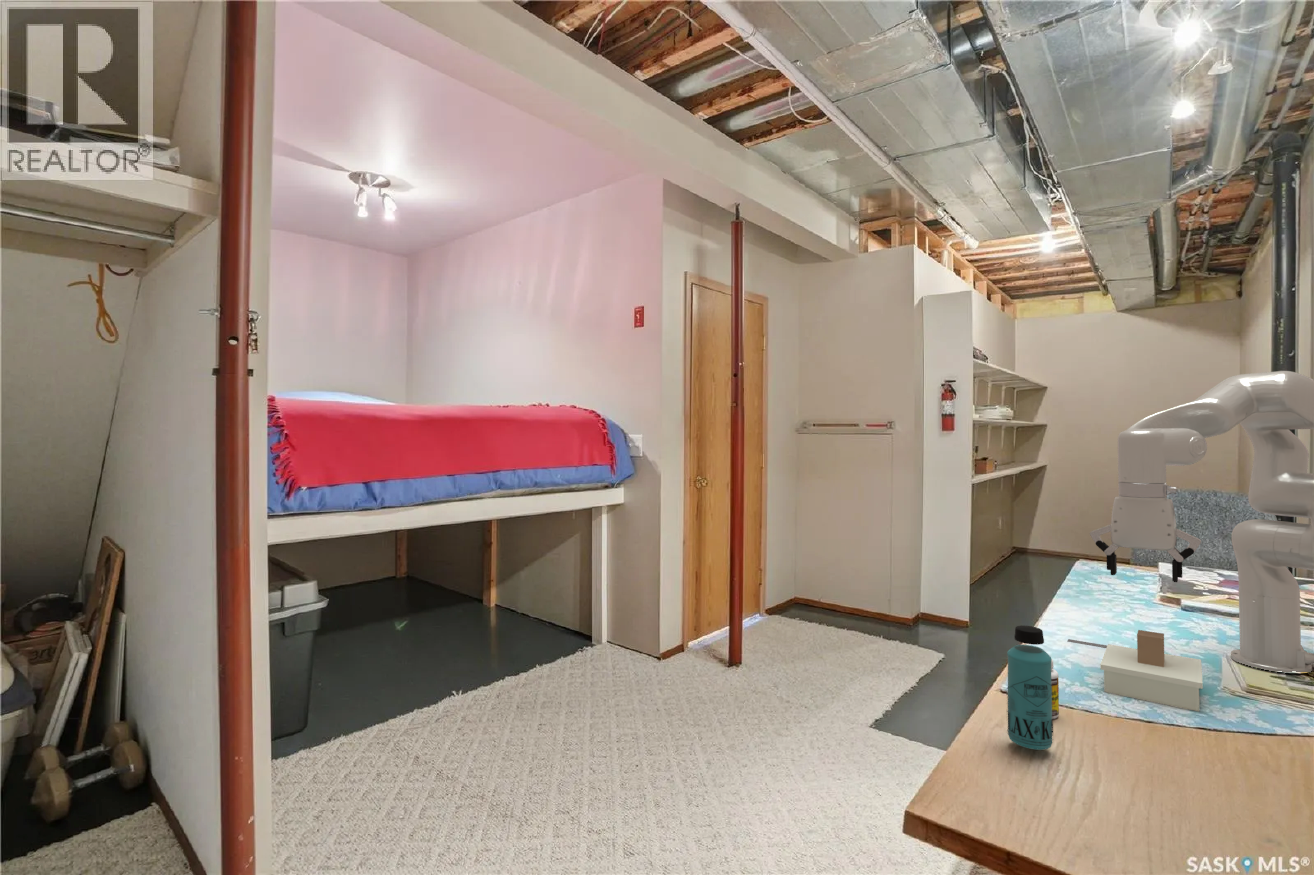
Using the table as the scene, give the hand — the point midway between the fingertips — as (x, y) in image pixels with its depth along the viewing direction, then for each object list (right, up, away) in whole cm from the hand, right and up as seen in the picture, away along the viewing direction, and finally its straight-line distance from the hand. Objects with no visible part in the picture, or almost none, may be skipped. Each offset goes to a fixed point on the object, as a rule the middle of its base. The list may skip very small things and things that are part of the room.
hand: (1143, 577), depth 122 cm
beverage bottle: (-36, -23, -22) cm, 48 cm away
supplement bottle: (-26, -23, -9) cm, 36 cm away
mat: (+6, -23, +19) cm, 30 cm away
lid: (+1, -18, -1) cm, 18 cm away
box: (+1, -23, -1) cm, 23 cm away
